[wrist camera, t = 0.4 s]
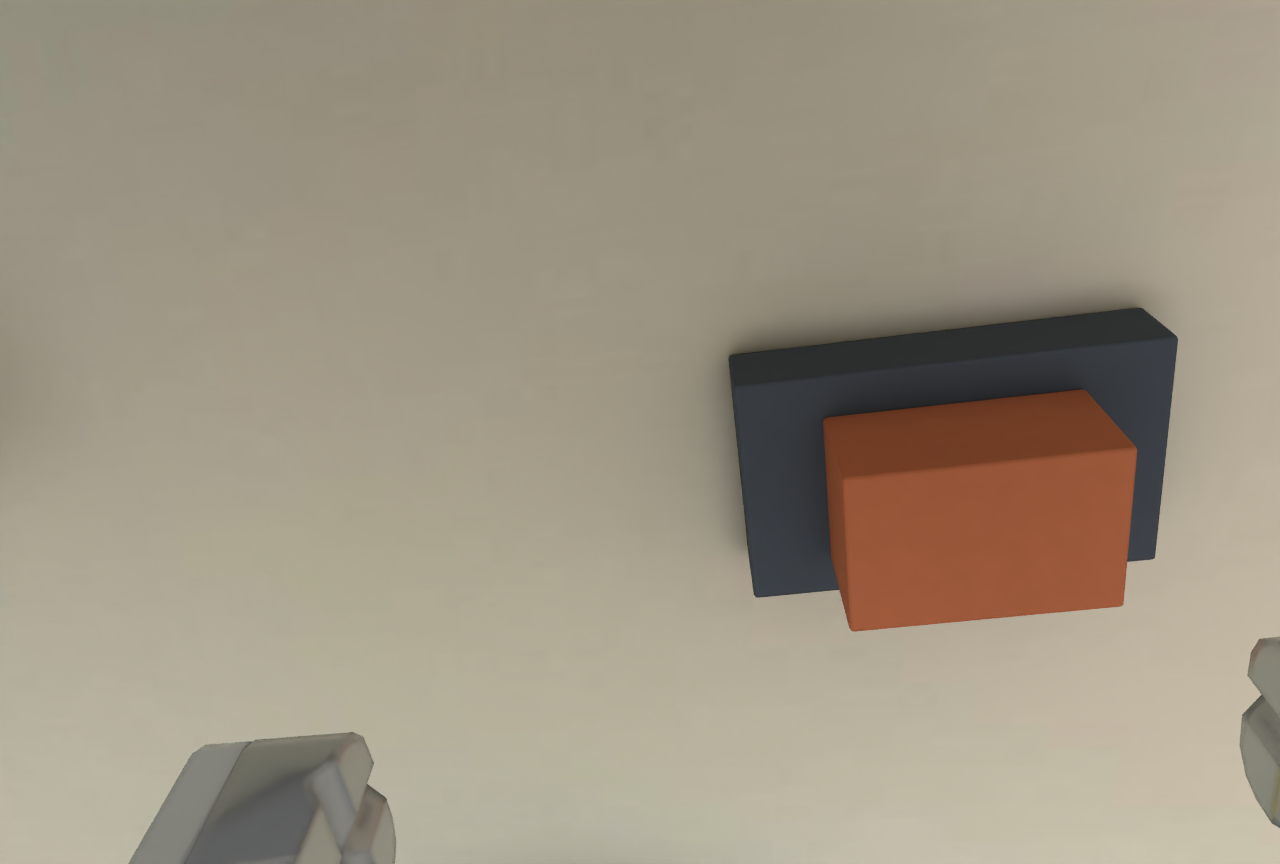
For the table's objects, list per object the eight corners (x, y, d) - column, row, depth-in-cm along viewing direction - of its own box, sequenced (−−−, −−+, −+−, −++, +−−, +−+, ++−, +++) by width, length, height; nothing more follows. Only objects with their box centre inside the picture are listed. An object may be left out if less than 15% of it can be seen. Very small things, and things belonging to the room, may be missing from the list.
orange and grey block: (727, 354, 26) (741, 447, 21) (1142, 306, 25) (1247, 391, 20) (748, 556, 28) (764, 676, 24) (1123, 518, 27) (1213, 635, 23)
